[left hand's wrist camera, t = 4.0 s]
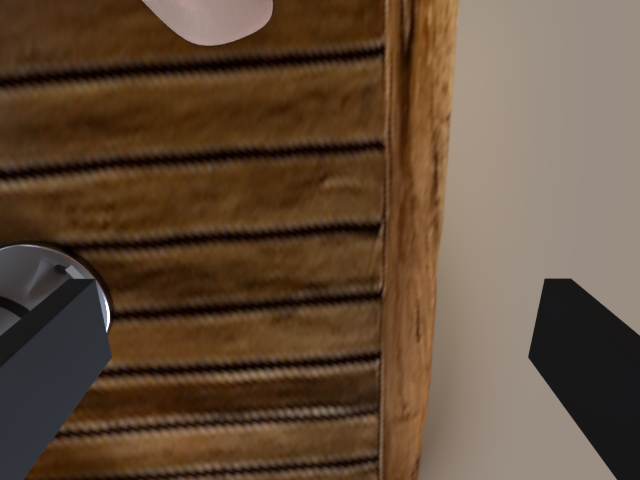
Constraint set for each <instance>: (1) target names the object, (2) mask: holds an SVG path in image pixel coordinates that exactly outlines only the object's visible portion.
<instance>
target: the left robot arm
mask: <svg viewBox="0 0 640 480" xmlns="http://www.w3.org/2000/svg"><path fill="white" fill-rule="evenodd" d="M113 317H114V307H113V301H112V297H111V294H110V292H109V289H108V287H107V285H106V283H105V282H104V280H103V279H102V277H101V276H100V275H99V273H98V272H97V271H96V270H95V269H94V268H93V267H92V266H91V265H90V264H89V263H88V262H87V261H85V260H84V259H83V258H81V257H80V256H78V255H77V254H75V253H73V252H72V251H70V250H68V249H65V248H63V247H61V246H58V245H55V244H51V243H47V242H41V241H21V242H15V243H12V244H9V245H6V246H4V247H2V248H0V480H23V479H24V477H25V476H26V475H27V473H28V472H29V471H30V469H31V468H32V466H33V465H34V464H35V462H36V461H37V460H38V458H39V457H40V455H41V454H42V453H43V451H44V450H45V449H46V447H47V446H48V444H49V443H50V442H51V440H52V439H53V438H54V436H55V435H56V433H57V432H58V431H59V429H60V428H61V427H62V425H63V424H64V422H65V421H66V420H67V418H68V417H69V415H70V414H71V413H72V411H73V410H74V409H75V407H76V406H77V404H78V403H79V402H80V400H81V399H82V398H83V396H84V395H85V393H86V392H87V391H88V389H89V388H90V387H91V385H92V384H93V382H94V381H95V380H96V378H97V377H98V376H99V374H100V373H101V371H102V370H103V369H104V367H105V366H106V365H107V363H108V362H109V360H110V359H111V358H112V356H111V351H110V346H109V342H108V337H107V335H108V333H109V331H110V329H111V326H112V323H113ZM528 358H529V359H530V360H531V362H532V363H533V364H534V366H535V367H536V369H537V370H538V371H539V373H540V374H541V376H542V377H543V378H544V380H545V381H546V382H547V384H548V385H549V387H550V388H551V389H552V391H553V392H554V393H555V395H556V396H557V398H558V399H559V400H560V402H561V403H562V404H563V406H564V407H565V409H566V410H567V411H568V413H569V414H570V415H571V417H572V418H573V420H574V421H575V422H576V424H577V425H578V427H579V428H580V429H581V431H582V432H583V433H584V435H585V436H586V437H587V439H588V440H589V442H590V443H591V444H592V446H593V447H594V448H595V450H596V451H597V453H598V454H599V455H600V457H601V458H602V460H603V461H604V462H605V464H606V465H607V466H608V468H609V469H610V471H611V472H612V473H613V475H614V476H615V477H616V479H617V480H640V335H638V334H637V333H636V332H635V331H633V330H632V329H631V328H630V327H629V326H627V325H626V324H625V323H624V322H623V321H621V320H620V319H619V318H618V317H617V316H615V315H614V314H613V313H612V312H611V311H609V310H608V309H607V308H606V307H605V306H603V305H602V304H601V303H600V302H599V301H597V300H596V299H595V298H594V297H592V296H591V295H590V294H589V293H588V292H586V291H585V290H584V289H583V288H582V287H580V286H579V285H578V284H577V283H576V282H574V281H573V280H572V279H545V280H544V285H543V289H542V294H541V299H540V304H539V308H538V313H537V318H536V323H535V327H534V332H533V337H532V342H531V346H530V351H529V356H528Z"/></svg>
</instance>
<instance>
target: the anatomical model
mask: <svg viewBox="0 0 640 480" xmlns="http://www.w3.org/2000/svg"><path fill="white" fill-rule="evenodd" d="M142 1H143V2H144V3H145V4H146V5H147V6H148V7H149V8H150V9H151V10H152V11H153V12H154V13H155V14H156V15H157V16H158V17H159V18H160V19H161V20H162V21H163V22H164V23H165V24H166V25H167V26H168V27H170V28H171V29H172V30H173V31H175V32H176V33H177V34H178V35H180V36H181V37H183V38H184V39H186V40H188V41H190V42H192V43H195V44H198V45H210V46H211V45H220V44H224V43H228V42H232V41H235V40H238V39H240V38H243V37H245V36H247V35H250V34H252V33H253V32H255V31H257V30H259V29H260V28H262V27H263V26H264V25H265V24H266V23H267V22H268V21H269V19H270V17H271V15H272V9H273V0H142Z"/></svg>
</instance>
